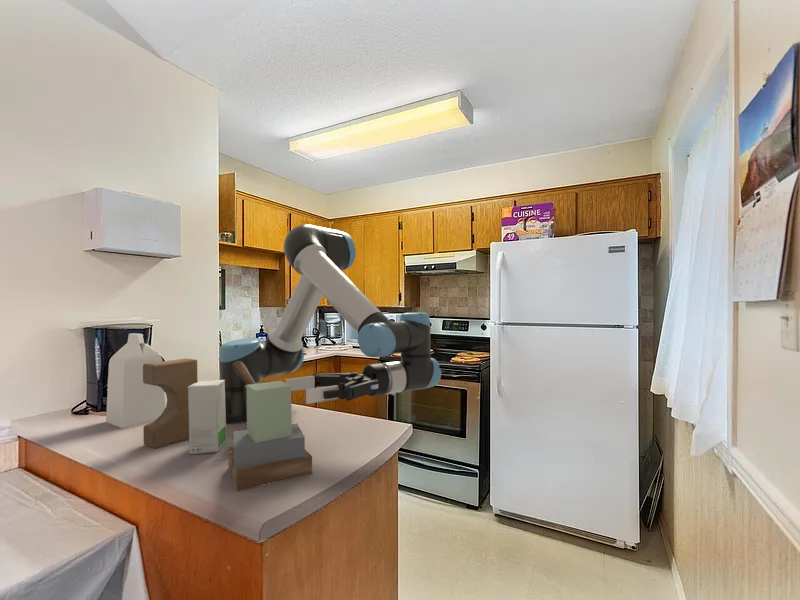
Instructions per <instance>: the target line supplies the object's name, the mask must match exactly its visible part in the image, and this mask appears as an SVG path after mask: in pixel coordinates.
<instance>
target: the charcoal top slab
mask: <svg viewBox="0 0 800 600" xmlns="http://www.w3.org/2000/svg"><path fill="white" fill-rule="evenodd" d="M291 425H292V436H288V437H284V438H279V439H274V440H269V441H264V442H259V443H255V442H254V441H253V440H252V438H251V437H250V436H249V435H248V434H247V429H244V430H235V431H233V451H234V468H241V467H247V466H253V465H259V464H265V463H271V462H277V461H283V460H289V459H296V458H302V457H305V450H306V449H305V445H306V443H305V442H306V441H305V439H306V438H305V435H304V433H303V431H302V429H301V428H300V426H299V424H298V423H291Z"/></svg>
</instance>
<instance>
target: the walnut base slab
mask: <svg viewBox="0 0 800 600" xmlns="http://www.w3.org/2000/svg"><path fill="white" fill-rule="evenodd" d="M227 455H228V458H227V459H228V462H227V463H228V471H229V473H231V474H230V476H231V479H232V481H233V484H234V486H235V488H236V492H240V490H241V491H245V490H249V489H253V488H258V487H261V486H260V485H262V486H264V485H263V484H266V485H269V484H268V483H271V484H273V483H272V482H275V483H278V482H277V481H279V482H283V481H287V480H292V479H296V478H299V477H303V476H308V475H313V456H312V455H311V453H310V452H309V451H308V450H307V449H305V457H302V458H296V459H289V460H283V461H277V462H271V463H265V464H259V465H253V466H247V467H241V468H234V450H232V451H231V450H230V451H228V454H227ZM295 477H296V478H295ZM291 478H292V479H291ZM286 479H287V480H286ZM282 480H283V481H282ZM257 486H258V487H257Z"/></svg>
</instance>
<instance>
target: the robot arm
mask: <svg viewBox="0 0 800 600" xmlns="http://www.w3.org/2000/svg"><path fill="white" fill-rule="evenodd" d="M355 246H356V245H355V241H354V240H353V238H352V236H351V235H350V234H348V233H347V232H344V231H341V230H339V229H336V228H335V229H333V228H327V227H325V226H324V227H323V226H318V225H313V224H301V225H297V226H295V227H294V228H292V229H291V230H290V231H289V232H288V233H287V235H286V236H285V239H284V243H283V252H284V255H285V258H286V260H287V262H288V264H289V265H290V267H292V269H293V270H294V271H295V272H296V273H297V274H298V275H300V277H299V280H298V281H297V284H296V285H295V288H294V289H293V292H292V295H291V296H290V299H289V301H288V302H287V304H286V307H285V310H284V312H283V314H282V316H281V318H280V320H279V323H278V325H277V327H276V328H274V329H271V330H270V331H269V332H268V335H267V336H266V338H265V340H263V341H262V340H261V341H260V338H258V337H248V338H247V337H246V338H239V339H234V340H230V341H226V342H225V343H223V344H221V346H220V348H219V356H218V361H219V363H218V364H219V380H225V408H226V424H238V423H247V408H246V406H245V400H244V386H245V385H246V383H244V381H243V380H242V379H241V378H240V377H239V376H238V375H237V374H236V373H235V372H234V370H233V368H232V365H233V363H234V362H236V361H241V362H243V363H244V365H245V366H246V368H247V369H248V371H249V373H250V375H251V377H252V378H253V380H254V381H255V383H257V382H262V381H261V379H264V378H270V377H275V376H281V375H283V376H284V375H288V374H291V373H294V372H295V371H297V370H298V369H299V368H300V367H301V366H302V364H303V363H304V362H303V361H304V358H305V355H304V353H305V349H304V344H303V341H302V337H304V334H305V333H306V330H307V329H308V326H309V324H310V322H311V320H312V317H314V314H315V313H316V310H317V308H318V306H319V304H320V302H321V300H322V298H323V297H324V299H326V300H327V301H328V302H329V303H330V304H329V305H331V306H332V307H333V308H334V309H335V311H337V313H338V314H339V315H340V316H341V317H342V319H344V320H345V322H347V323H348V325H349V326H350V327H351V328H352V330H354V331H355V332H356V333H357V344H358V346H359V350H360V351H361V353H362V354H363V355H365V356H366V357H369V358H384V357H388V356H392V355H397V354H400V357H401V358H400V359H401V360H400V361H399V360H398V361H397V360H396V361H389V362H382V363H380V362H379V363H372V364H371V363H369V364H367V365H365V367H364V368H363V370H362V373H359V372H353V371H350V372H337V373H336V372H335V373H334V372H332V373H331V372H330V373H313V374H312V375H308V376H300V377H293V378H285V383H286V384H288V385H290V386H291V392H294V391H302V390H305V404H306V405H308V404H314V403H315V404H316V403H321V402H328V401H329V402H330V401H333V400H339V399H340V400H346V401H348V402H349V401H353V400H355V399H358V398H361V397H364V396H369V397H371V398H374V397H380V396H385V395H391V396H396V393H403V392H409V391H417V390H425V389H429V388H433V387H435V386H437V385H438V384H439V383H440V380H441V377H442V369H441V368H440V363H439V362H438V360H437V359H435V358H433V357H432V356H431V324H430V320H431V319H430V315H429V313H427V312H404V313H403V312H402V313H401V314H400V316H399V321H398V320H397V321H391V320H390V319H389V318H388V317H386V316H385V315H384V314H383V312H382V311H380V309H379V308H378V307H377V306H376V305H375V304H374V303H373V302H371V300H370V299H369V298H368V297H367V296H366V295H365V293H363V292H362V291H361V290H360V289H359V288H358V287H357V286H356V285H355V284H354V282H352V280H351V279H350V278H349V277H348V276H347V275H346V274H345V273H344V272H343V271H344V270H347V269H349V268H351V266H353V265H354V263H355V259H356V256H357V255H356V254H357V252H356V251H357V250H356V249H357V248H356V247H355Z"/></svg>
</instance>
